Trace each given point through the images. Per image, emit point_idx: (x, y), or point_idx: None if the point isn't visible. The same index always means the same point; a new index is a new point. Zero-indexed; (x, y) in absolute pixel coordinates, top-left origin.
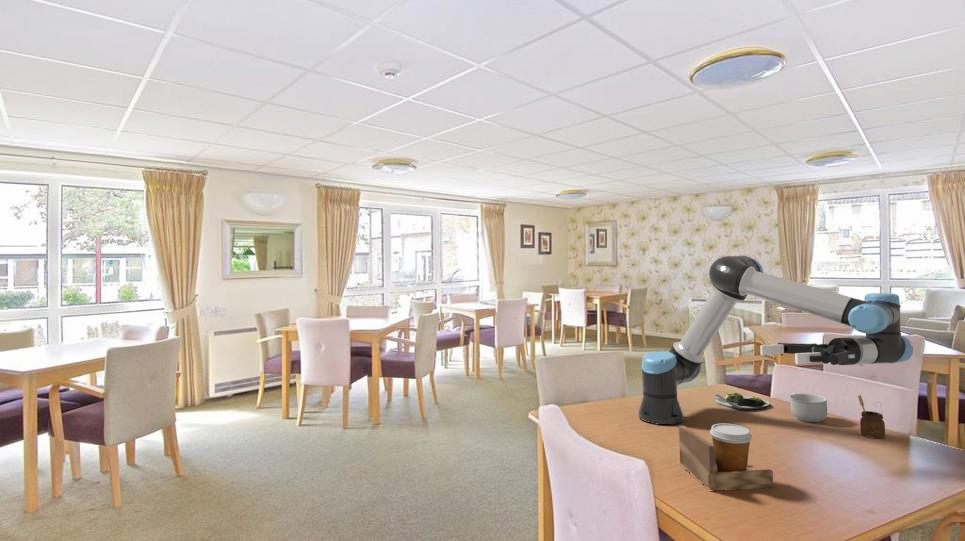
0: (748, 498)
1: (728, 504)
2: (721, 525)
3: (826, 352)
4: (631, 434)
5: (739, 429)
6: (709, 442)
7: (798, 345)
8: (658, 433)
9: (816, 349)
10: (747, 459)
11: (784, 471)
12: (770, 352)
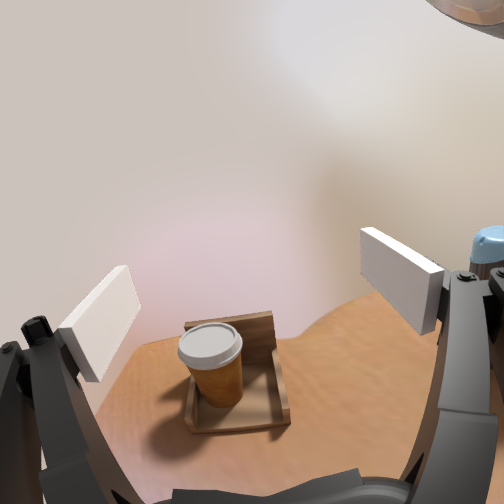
0: (174, 394)
1: (169, 372)
2: (141, 355)
3: (28, 329)
4: (390, 322)
5: (208, 351)
6: (196, 325)
7: (462, 342)
8: (407, 346)
9: (315, 483)
10: (199, 386)
11: (246, 479)
12: (379, 281)
